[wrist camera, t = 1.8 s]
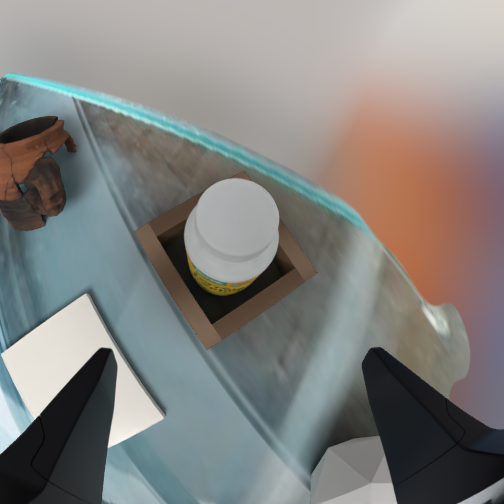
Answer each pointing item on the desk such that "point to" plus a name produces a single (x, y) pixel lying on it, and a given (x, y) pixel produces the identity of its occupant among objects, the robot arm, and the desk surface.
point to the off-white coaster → (77, 367)
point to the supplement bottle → (231, 236)
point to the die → (353, 474)
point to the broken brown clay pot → (32, 171)
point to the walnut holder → (153, 242)
